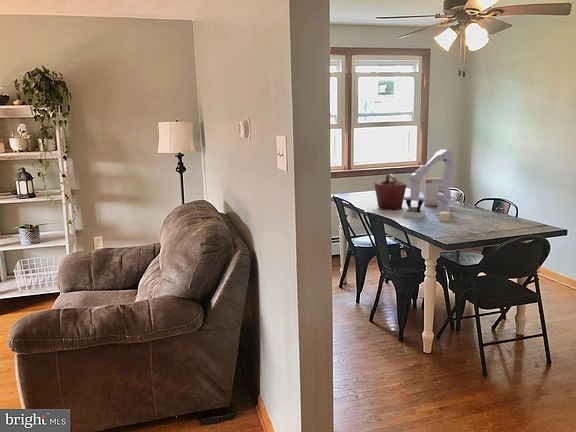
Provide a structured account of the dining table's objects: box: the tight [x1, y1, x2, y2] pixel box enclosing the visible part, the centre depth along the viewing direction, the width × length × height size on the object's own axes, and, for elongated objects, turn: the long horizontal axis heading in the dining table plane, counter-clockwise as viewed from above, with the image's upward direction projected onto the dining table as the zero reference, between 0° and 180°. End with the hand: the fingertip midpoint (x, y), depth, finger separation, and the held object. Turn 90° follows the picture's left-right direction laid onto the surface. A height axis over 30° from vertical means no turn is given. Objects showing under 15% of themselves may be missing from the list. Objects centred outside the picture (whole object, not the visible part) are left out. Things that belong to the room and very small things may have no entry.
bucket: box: [374, 173, 407, 211], centre depth 348 cm, size 24×22×25 cm
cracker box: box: [423, 177, 443, 207], centre depth 353 cm, size 14×6×21 cm, turn 84°
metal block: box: [407, 204, 420, 213], centre depth 319 cm, size 8×6×5 cm
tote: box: [402, 208, 426, 220], centre depth 320 cm, size 11×12×4 cm
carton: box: [438, 211, 451, 222], centre depth 309 cm, size 8×6×5 cm
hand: (414, 211), depth 319 cm, fingers closed on metal block, 5 cm apart
